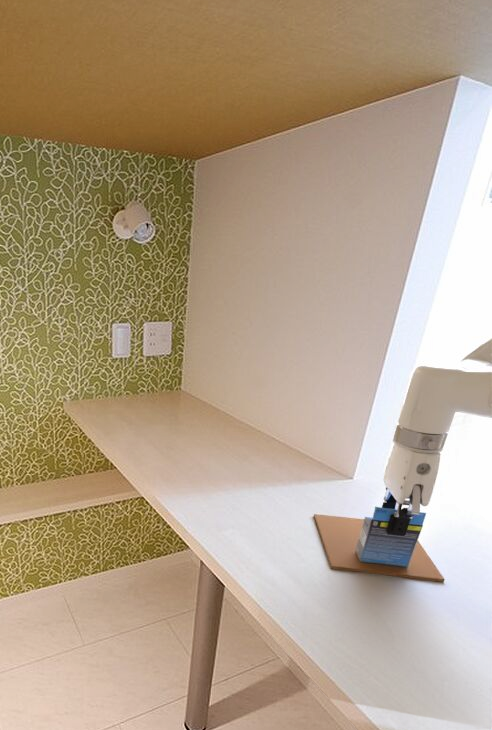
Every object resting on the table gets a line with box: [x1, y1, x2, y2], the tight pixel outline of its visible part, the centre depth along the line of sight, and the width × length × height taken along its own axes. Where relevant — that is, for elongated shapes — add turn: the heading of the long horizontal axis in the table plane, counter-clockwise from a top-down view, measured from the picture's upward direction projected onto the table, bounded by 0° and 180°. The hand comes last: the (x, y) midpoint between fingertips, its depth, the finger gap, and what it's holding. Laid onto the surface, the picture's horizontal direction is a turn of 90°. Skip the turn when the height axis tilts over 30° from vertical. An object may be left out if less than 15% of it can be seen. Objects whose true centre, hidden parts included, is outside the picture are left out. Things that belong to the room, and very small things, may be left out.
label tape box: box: [356, 506, 427, 567], centre depth 83 cm, size 9×4×12 cm, turn 78°
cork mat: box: [313, 513, 446, 583], centre depth 91 cm, size 20×20×1 cm
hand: (391, 526), depth 82 cm, fingers closed on label tape box, 3 cm apart
